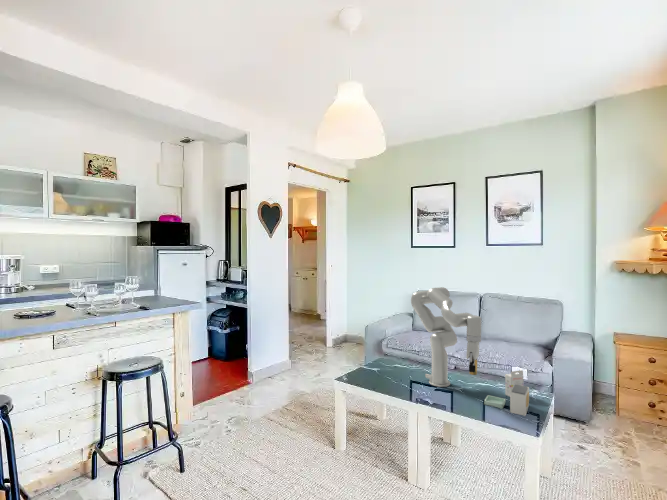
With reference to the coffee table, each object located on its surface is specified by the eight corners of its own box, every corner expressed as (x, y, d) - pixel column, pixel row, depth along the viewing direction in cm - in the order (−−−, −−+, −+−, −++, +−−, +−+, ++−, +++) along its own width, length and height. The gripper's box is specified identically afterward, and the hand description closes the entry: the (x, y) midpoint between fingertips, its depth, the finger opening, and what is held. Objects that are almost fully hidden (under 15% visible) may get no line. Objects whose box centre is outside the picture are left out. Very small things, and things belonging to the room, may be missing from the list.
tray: (484, 404, 195) (484, 400, 195) (487, 398, 203) (487, 395, 203) (502, 408, 190) (502, 404, 190) (505, 402, 198) (505, 398, 198)
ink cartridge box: (517, 392, 211) (517, 367, 211) (523, 396, 206) (523, 370, 206) (504, 394, 209) (504, 368, 209) (511, 397, 204) (511, 371, 204)
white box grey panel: (510, 412, 186) (510, 391, 186) (514, 402, 198) (514, 383, 198) (526, 416, 182) (526, 395, 182) (529, 406, 193) (529, 386, 193)
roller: (468, 374, 202) (468, 359, 202) (470, 371, 206) (470, 357, 206) (476, 375, 200) (476, 361, 200) (477, 373, 204) (478, 359, 203)
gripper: (470, 333, 212) (469, 365, 212) (462, 340, 198) (462, 373, 198) (484, 335, 207) (483, 367, 208) (477, 342, 194) (476, 376, 194)
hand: (473, 370), depth 203 cm, fingers closed on roller, 4 cm apart
